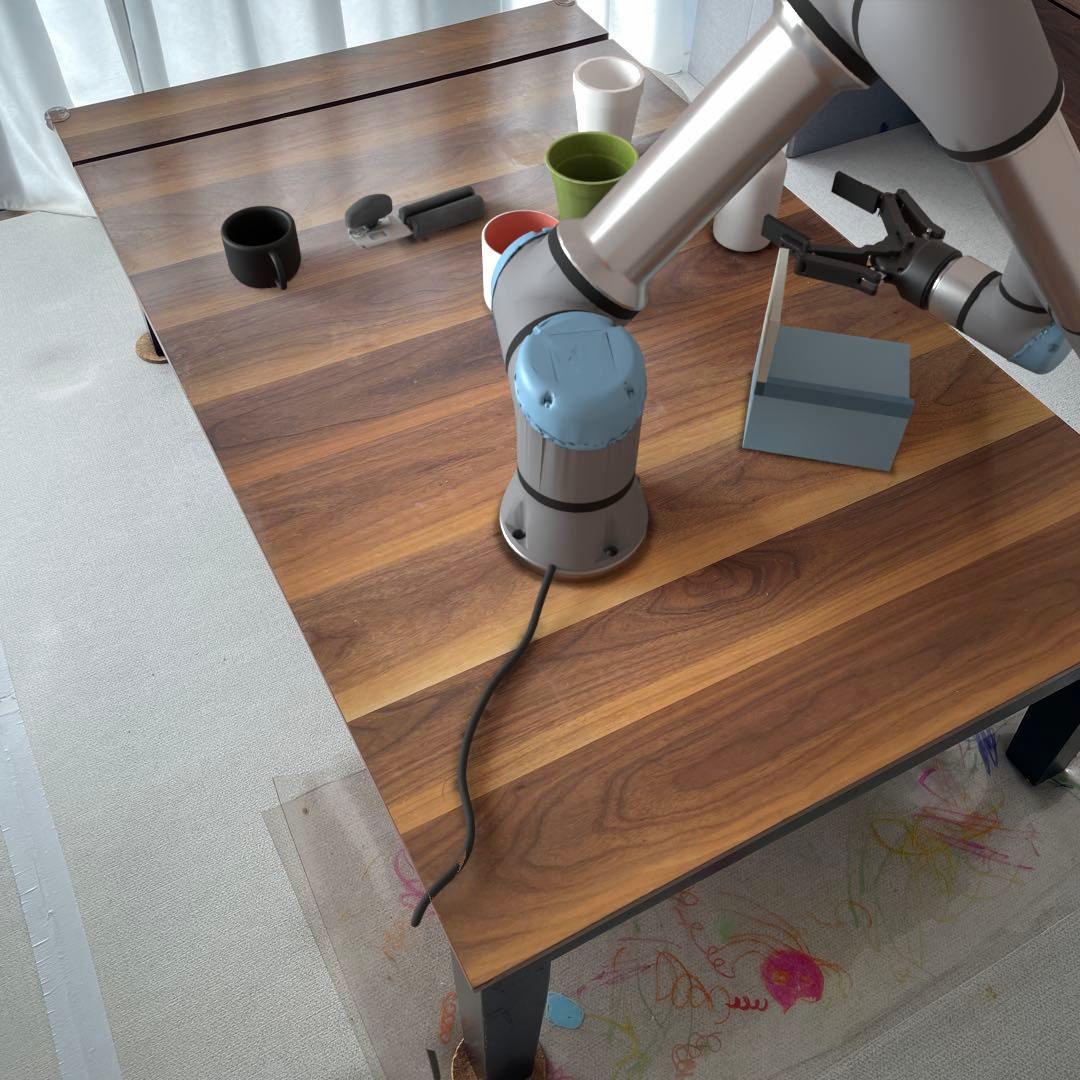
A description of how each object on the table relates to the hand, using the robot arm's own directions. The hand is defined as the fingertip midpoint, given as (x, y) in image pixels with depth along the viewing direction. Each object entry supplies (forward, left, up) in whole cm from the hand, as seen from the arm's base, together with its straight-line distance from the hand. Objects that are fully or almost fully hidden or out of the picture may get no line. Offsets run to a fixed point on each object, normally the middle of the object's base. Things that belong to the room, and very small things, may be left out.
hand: (800, 202), depth 137 cm
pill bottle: (+4, +6, -9) cm, 12 cm away
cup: (-16, +31, -9) cm, 36 cm away
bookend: (-29, -6, -9) cm, 31 cm away
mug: (-19, +63, -9) cm, 67 cm away
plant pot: (0, +26, -9) cm, 28 cm away
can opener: (-5, +48, -9) cm, 50 cm away
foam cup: (+17, +27, -9) cm, 33 cm away
